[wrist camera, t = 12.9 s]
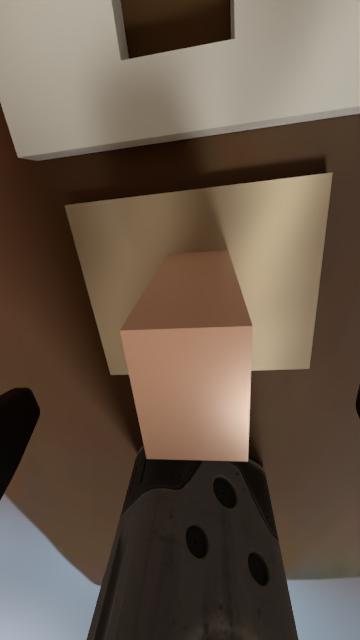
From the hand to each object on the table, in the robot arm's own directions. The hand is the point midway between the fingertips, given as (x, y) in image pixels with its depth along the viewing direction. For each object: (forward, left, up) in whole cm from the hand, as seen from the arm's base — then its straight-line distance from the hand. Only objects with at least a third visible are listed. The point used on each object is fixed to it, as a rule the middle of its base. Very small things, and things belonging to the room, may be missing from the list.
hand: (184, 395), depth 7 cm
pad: (0, 0, -8) cm, 8 cm away
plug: (0, 0, -8) cm, 8 cm away
